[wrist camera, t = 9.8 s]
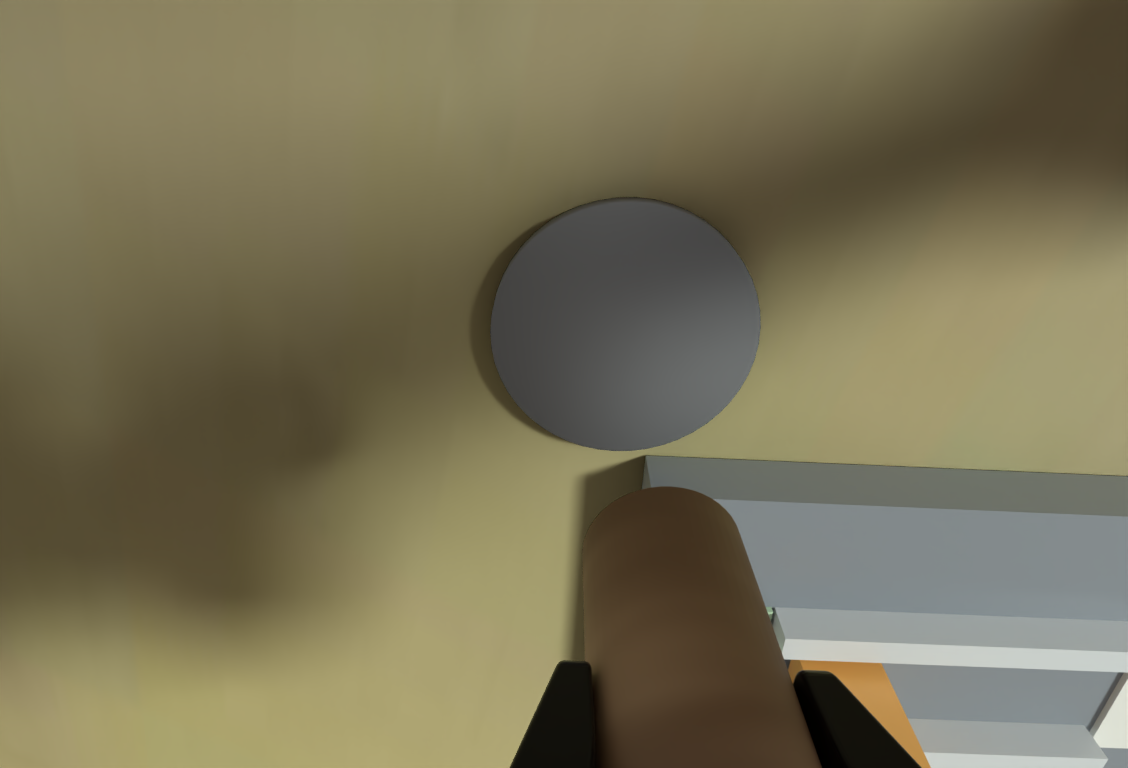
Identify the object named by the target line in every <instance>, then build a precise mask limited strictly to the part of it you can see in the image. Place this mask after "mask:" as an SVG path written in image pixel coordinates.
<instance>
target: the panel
mask: <svg viewBox="0 0 1128 768" xmlns="http://www.w3.org/2000/svg"><path fill="white" fill-rule="evenodd" d="M660 486H672V487H681V488H686V489H690V490H694V491H697V492H699V493H702V494H704V495H706V496H708V497H710V498H712V499H713V500H715V501H716V502H718V503H719V504H720V505H721V506H722V507H723V508H725V509H726V510H727V512H728V513H729V514H730V515H731V516H732V518H733V520H734V521H735V523H736V525H737V527H738V530H739V533H740V535H741V538H742V541H743V544H744V547H745V550H746V552H747V555H748V558H749V561H750V564H751V567H752V569H753V572H754V575H755V578H756V581H757V584H758V587H759V589H760V592H761V595H762V598H763V601H764V604H765V606H766V609H767V612H768V615H769V618H770V621H771V623H772V626H773V629H774V632H775V635H776V638H777V641H778V643H779V646H780V649H781V652H782V655H783V658H784V660H785V663H786V666H787V669H788V668H789V664H790V661H791V660H815V661H841V662H867V663H881V664H882V666H883V668H884V670H885V672H886V674H887V676H888V678H889V680H890V682H891V685H892V687H893V689H894V691H895V693H896V695H897V697H898V699H899V701H900V704H901V706H902V708H903V710H904V712H905V714H906V716H907V718H908V720H909V722H910V725H911V727H912V729H913V731H914V733H915V735H916V737H917V739H918V741H919V744H920V746H921V748H922V750H923V752H924V754H925V756H926V758H927V760H928V762H929V765H930V767H931V768H1128V476H1106V475H1083V474H1060V473H1037V472H1013V471H990V470H967V469H944V468H921V467H898V466H875V465H852V464H828V463H805V462H782V461H759V460H736V459H713V458H690V457H667V456H646V458H645V466H644V474H643V483H642V489H646V488H651V487H660Z"/></svg>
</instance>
